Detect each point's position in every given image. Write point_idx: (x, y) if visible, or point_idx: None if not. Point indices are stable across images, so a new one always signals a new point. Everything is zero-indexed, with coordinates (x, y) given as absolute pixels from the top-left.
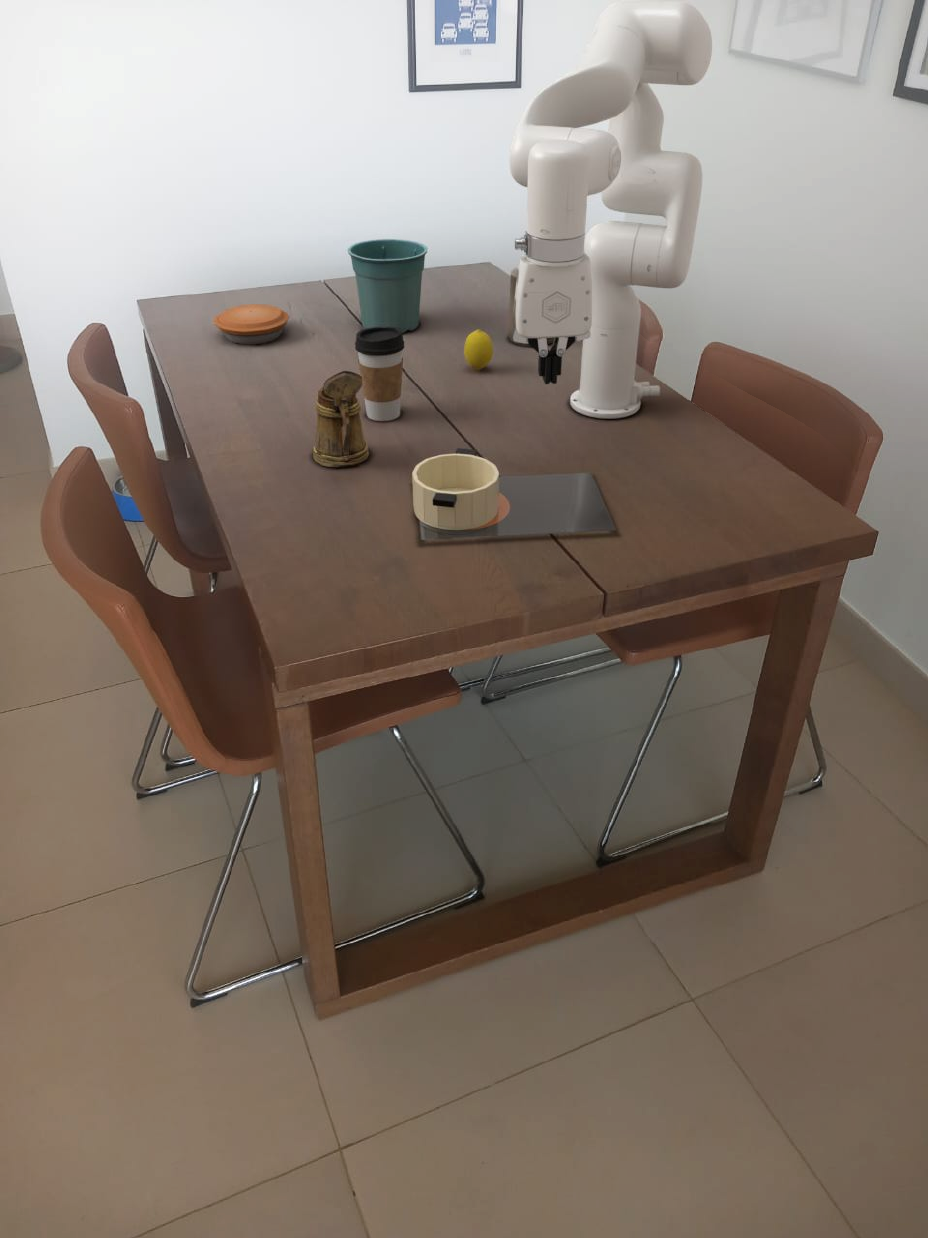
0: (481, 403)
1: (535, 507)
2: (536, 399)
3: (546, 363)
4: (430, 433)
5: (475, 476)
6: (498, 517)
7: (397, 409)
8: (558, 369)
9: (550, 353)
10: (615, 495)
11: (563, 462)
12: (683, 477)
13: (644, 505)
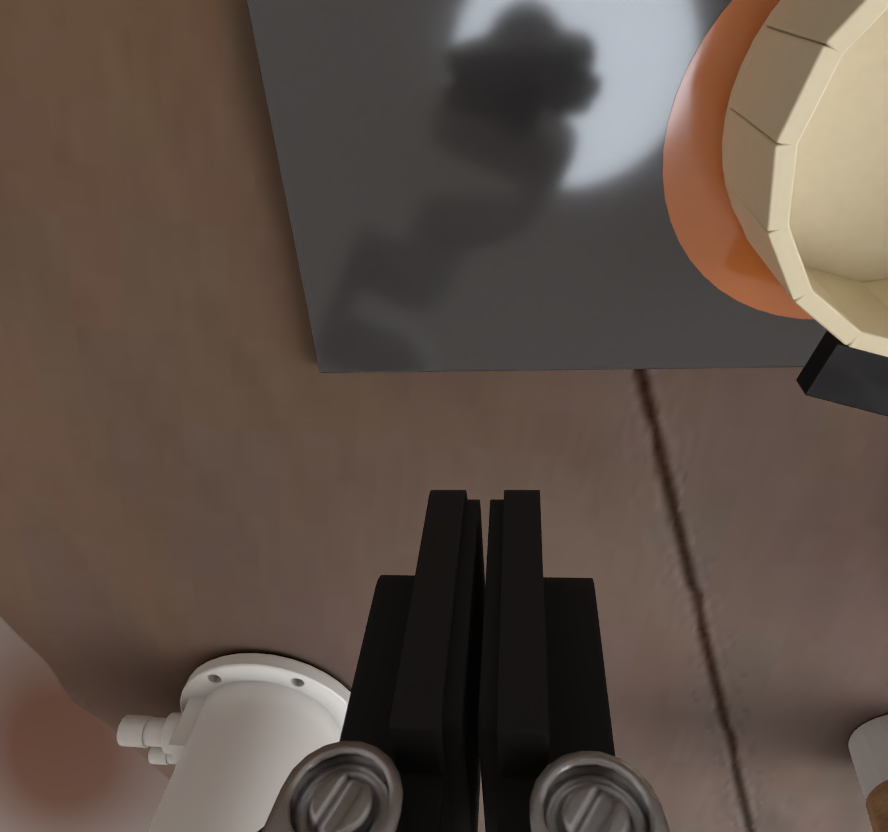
0: None
1: (559, 113)
2: None
3: (544, 660)
4: (794, 643)
5: (809, 276)
6: (744, 22)
7: (875, 745)
8: (398, 613)
9: (470, 812)
10: (238, 231)
11: (408, 457)
12: (21, 338)
13: (129, 147)
